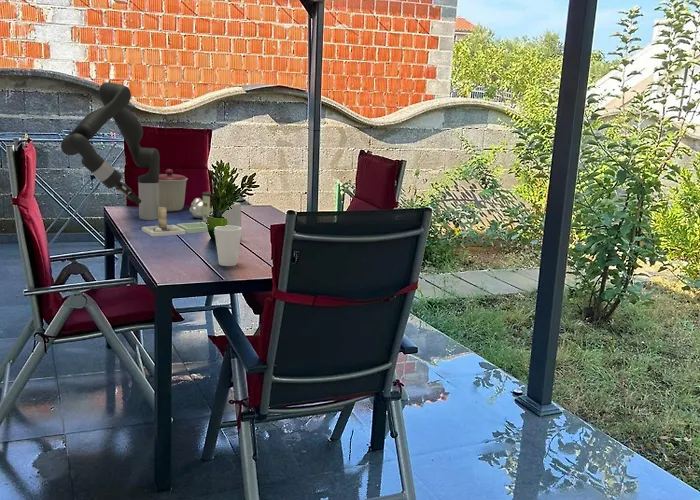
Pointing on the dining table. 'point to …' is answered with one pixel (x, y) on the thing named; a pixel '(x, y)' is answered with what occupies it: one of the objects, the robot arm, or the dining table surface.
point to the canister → (172, 191)
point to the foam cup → (227, 244)
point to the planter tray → (193, 227)
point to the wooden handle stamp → (162, 219)
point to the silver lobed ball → (197, 208)
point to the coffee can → (207, 205)
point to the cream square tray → (150, 231)
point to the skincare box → (233, 215)
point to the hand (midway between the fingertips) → (136, 201)
